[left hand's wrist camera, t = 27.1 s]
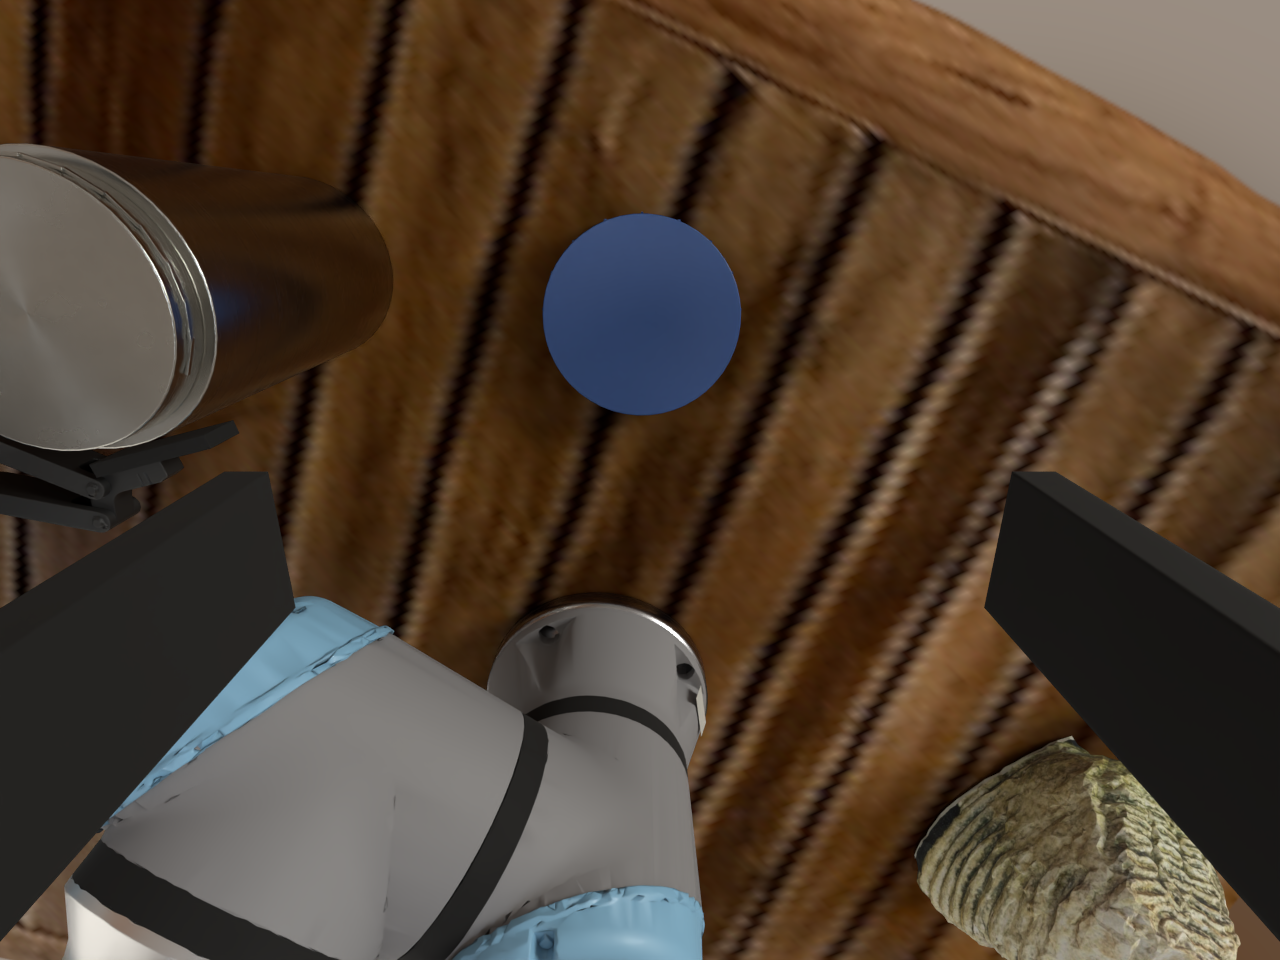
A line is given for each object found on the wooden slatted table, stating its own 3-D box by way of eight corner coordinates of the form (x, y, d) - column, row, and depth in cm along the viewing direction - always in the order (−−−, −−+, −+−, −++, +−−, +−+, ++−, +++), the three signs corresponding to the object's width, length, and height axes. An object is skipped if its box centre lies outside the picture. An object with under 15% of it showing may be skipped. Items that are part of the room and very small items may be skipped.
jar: (408, 211, 38) (205, 206, 20) (375, 378, 42) (175, 499, 24) (228, 149, 37) (-156, 85, 19) (209, 325, 41) (-134, 411, 23)
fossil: (1135, 739, 51) (1323, 937, 37) (982, 899, 57) (1094, 1121, 43) (1040, 694, 50) (1198, 881, 36) (892, 862, 55) (978, 1080, 41)
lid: (505, 308, 40) (499, 312, 39) (648, 166, 38) (649, 164, 36) (634, 444, 43) (634, 453, 42) (776, 321, 40) (782, 325, 39)
